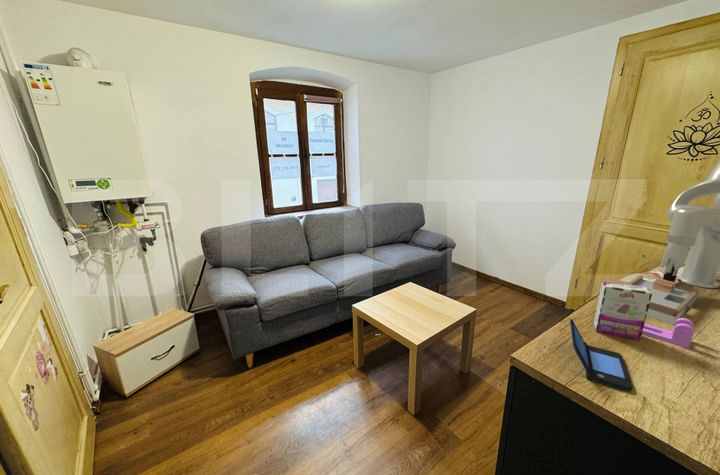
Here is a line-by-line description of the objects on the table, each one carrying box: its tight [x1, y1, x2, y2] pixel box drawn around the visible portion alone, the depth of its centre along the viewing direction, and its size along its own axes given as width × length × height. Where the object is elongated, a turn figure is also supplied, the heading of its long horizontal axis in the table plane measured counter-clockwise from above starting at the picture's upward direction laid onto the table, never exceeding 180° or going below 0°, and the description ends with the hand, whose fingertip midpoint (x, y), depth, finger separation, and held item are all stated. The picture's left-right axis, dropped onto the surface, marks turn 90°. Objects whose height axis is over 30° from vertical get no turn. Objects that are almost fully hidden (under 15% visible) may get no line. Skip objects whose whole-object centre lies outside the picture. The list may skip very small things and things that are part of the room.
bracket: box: [642, 317, 695, 349], centre depth 92 cm, size 13×6×7 cm, turn 42°
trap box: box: [627, 275, 700, 326], centre depth 110 cm, size 28×17×6 cm, turn 122°
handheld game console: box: [569, 318, 634, 392], centre depth 80 cm, size 16×13×9 cm
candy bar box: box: [593, 281, 652, 341], centre depth 92 cm, size 11×5×16 cm, turn 62°
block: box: [652, 278, 677, 293], centre depth 114 cm, size 5×5×3 cm
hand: (667, 283), depth 117 cm, fingers closed
